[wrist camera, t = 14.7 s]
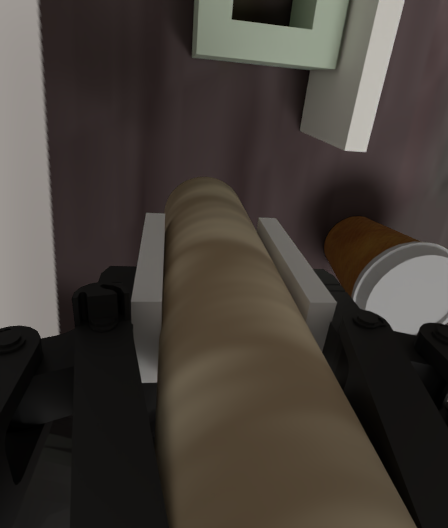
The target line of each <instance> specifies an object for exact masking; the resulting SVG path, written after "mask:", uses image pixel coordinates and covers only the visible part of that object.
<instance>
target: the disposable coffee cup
mask: <svg viewBox="0 0 448 528" xmlns="http://www.w3.org/2000/svg"><path fill="white" fill-rule="evenodd" d="M324 252H325V255H326V258H327V259H328V261H329V263H330V265H331V267H332V269H333V271H334V273H335V274H336V276H337V278H338V280H339V282H340V284H341V286H342V287H343V288H344V289H345V292H347V293H348V294H349V296H350V297H351V298H352V299H353V301H354V302H355V303H356V304H357V305H358V307H359V308H360V309H363V310H367V311H371V312H373V313H376V314H378V315H379V316H381V317H383V318H384V319H385V320H386V321H387V322H388V323H389V324H390V326H391V328H392V329H393V331H397V332H402V333H407V334H412V335H417V333H418V331H419V328H420V327H421V326H422V325H423V324H425V323H441V324H444V325H445V324H446V323H447V322H448V250H447V249H446V248H445V247H442V246H440V245H438V244H434V243H429V242H420V241H418V240H416V239H413V238H411V237H409V236H407V235H404V234H402V233H400V232H397V231H395V230H393V229H391V228H388V227H386V226H384V225H382V224H379V223H377V222H375V221H372V220H370V219H368V218H366V217H362V216H353V217H349V218H346V219H344V220H342V221H340V222H339V223H337V224H336V225H335V226H334V227H333V228H332V229H331V230H330V232H329V233H328V235H327V237H326V240H325V244H324Z"/></svg>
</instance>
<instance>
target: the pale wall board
mask: <svg viewBox="0 0 448 528" xmlns="http://www.w3.org/2000/svg"><path fill="white" fill-rule="evenodd" d="M404 1H405V0H349V3H348V8H347V13H346V18H345V23H344V28H343V33H342V38H341V43H340V48H339V53H338V58H337V63H336V68H335V69H328V70H310V74H309V80H308V85H307V91H306V97H305V103H304V109H303V115H302V120H301V126H300V131H301V132H303V133H306V134H308V135H310V136H313V137H315V138H317V139H319V140H322V141H324V142H326V143H329V144H331V145H333V146H335V147H338V148H340V149H342V150H345V151H358V152H366V150H367V146H368V142H369V138H370V134H371V130H372V126H373V123H374V119H375V115H376V111H377V107H378V103H379V99H380V95H381V91H382V87H383V83H384V79H385V75H386V72H387V68H388V64H389V60H390V56H391V52H392V48H393V44H394V40H395V36H396V32H397V28H398V24H399V21H400V17H401V13H402V9H403V5H404Z"/></svg>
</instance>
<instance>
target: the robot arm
mask: <svg viewBox="0 0 448 528" xmlns="http://www.w3.org/2000/svg"><path fill="white" fill-rule="evenodd" d="M257 233H258V235H259V237H260V239H261V241H262V243H263V244H264V246H265V248H266V250H267V252H268V254H269V255H270V257H271V259H272V261H273V263H274V265H275V267H276V268H277V270H278V272H279V274H280V276H281V278H282V279H283V281H284V283H285V285H286V287H287V289H288V291H289V292H290V294H291V296H292V298H293V300H294V302H295V303H296V305H297V307H298V309H299V311H300V313H301V314H302V316H303V318H304V320H305V322H306V324H307V326H308V327H309V329H310V331H311V333H312V335H313V337H314V338H315V340H316V342H317V344H318V346H319V348H320V350H321V351H322V353H323V355H324V357H325V359H326V361H327V362H328V364H329V366H330V368H331V370H332V372H333V374H334V375H335V377H336V379H337V381H338V383H339V385H340V386H341V388H342V390H343V392H344V394H345V396H346V397H347V399H348V401H349V403H350V405H351V407H352V409H353V410H354V412H355V414H356V416H357V418H358V420H359V421H360V423H361V425H362V427H363V429H364V431H365V433H366V434H367V436H368V438H369V440H370V442H371V444H372V445H373V447H374V449H375V451H376V453H377V455H378V456H379V458H380V460H381V462H382V464H383V466H384V468H385V469H386V471H387V473H388V475H389V477H390V479H391V480H392V482H393V484H394V486H395V488H396V490H397V492H398V493H399V495H400V497H401V499H402V501H403V503H404V504H405V506H406V508H407V510H408V512H409V514H410V516H411V517H412V519H413V521H414V523H415V525H416V527H417V528H448V402H447V400H448V325H444V324H441V323H425V324H423V325H422V326H421V327H420V328H419V331H418V333H417V335H412V334H407V333H402V332H397V331H393V329H392V328H391V326H390V324H389V323H388V322H387V321H386V320H385V319H384V318H383V317H381V316H379V315H378V314H376V313H373V312H371V311H367V310H363V309H360V308H359V307H358V305H357V304H356V303H355V302H354V301H353V299H352V298H351V297H350V296H349V294H348V293H347V292H345V289H344V288H343V287H342V286H340V283H339V282H338V281H337V279H336V278H335V277H334V276H333V275H331V274H330V273H328V272H327V271H325V270H324V269H312V268H311V266H310V265H309V263H308V262H307V261H306V259H305V258H304V256H303V255H302V254H301V252H300V251H299V250H298V248H297V247H296V245H295V244H294V243H293V241H292V240H291V239H290V237H289V236H288V234H287V233H286V232H285V230H284V229H283V227H282V226H281V225H280V223H279V222H278V221H277V219H276V218H259V219H258V226H257ZM164 241H165V214H161V213H146V217H145V223H144V229H143V234H142V240H141V246H140V252H139V258H138V263H137V267H130V266H110V267H109V268H107V269H106V270H105V271H104V272H102V273H101V276H100V279H99V281H98V282H97V283H92V284H88V285H86V286H83V287H81V288H79V289H78V290H77V291H76V292H74V295H73V297H72V303H73V312H74V321H75V329H73V330H71V331H69V332H67V333H64V334H60V335H57V336H52V337H47V338H42V339H41V338H40V335H39V333H38V331H36V330H35V329H32V328H31V327H26V326H10V327H5V328H1V329H0V528H169V525H168V519H167V514H166V509H165V503H164V498H163V493H162V487H161V482H160V477H159V471H158V466H157V461H156V455H155V450H154V443H155V420H156V397H157V374H158V350H159V337H160V332H161V327H162V298H163V269H164Z"/></svg>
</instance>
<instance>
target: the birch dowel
mask: <svg viewBox="0 0 448 528" xmlns="http://www.w3.org/2000/svg"><path fill="white" fill-rule="evenodd" d="M164 214H165V241H164V269H163V298H162V327H161V332H160V337H159V350H158V374H157V397H156V420H155V443H154V450H155V455H156V461H157V466H158V471H159V477H160V482H161V487H162V493H163V498H164V503H165V509H166V514H167V519H168V525H169V528H417V527H416V525H415V523H414V521H413V519H412V517H411V516H410V514H409V512H408V510H407V508H406V506H405V504H404V503H403V501H402V499H401V497H400V495H399V493H398V492H397V490H396V488H395V486H394V484H393V482H392V480H391V479H390V477H389V475H388V473H387V471H386V469H385V468H384V466H383V464H382V462H381V460H380V458H379V456H378V455H377V453H376V451H375V449H374V447H373V445H372V444H371V442H370V440H369V438H368V436H367V434H366V433H365V431H364V429H363V427H362V425H361V423H360V421H359V420H358V418H357V416H356V414H355V412H354V410H353V409H352V407H351V405H350V403H349V401H348V399H347V397H346V396H345V394H344V392H343V390H342V388H341V386H340V385H339V383H338V381H337V379H336V377H335V375H334V374H333V372H332V370H331V368H330V366H329V364H328V362H327V361H326V359H325V357H324V355H323V353H322V351H321V350H320V348H319V346H318V344H317V342H316V340H315V338H314V337H313V335H312V333H311V331H310V329H309V327H308V326H307V324H306V322H305V320H304V318H303V316H302V314H301V313H300V311H299V309H298V307H297V305H296V303H295V302H294V300H293V298H292V296H291V294H290V292H289V291H288V289H287V287H286V285H285V283H284V281H283V279H282V278H281V276H280V274H279V272H278V270H277V268H276V267H275V265H274V263H273V261H272V259H271V257H270V255H269V254H268V252H267V250H266V248H265V246H264V244H263V243H262V241H261V239H260V237H259V235H258V233H257V232H256V230H255V228H254V226H253V224H252V222H251V220H250V219H249V217H248V215H247V213H246V211H245V209H244V208H243V206H242V204H241V202H240V200H239V198H238V196H237V195H236V193H235V192H234V190H233V189H232V188H231V187H230V186H228V185H227V184H226V183H224V182H222V181H220V180H218V179H215V178H211V177H197V178H193V179H190V180H187V181H185V182H183V183H182V184H180V185H179V186H178V187H177V188H176V189H175V190H174V191H173V192H172V193H171V194H170V196H169V198H168V200H167V203H166V206H165V213H164Z"/></svg>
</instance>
